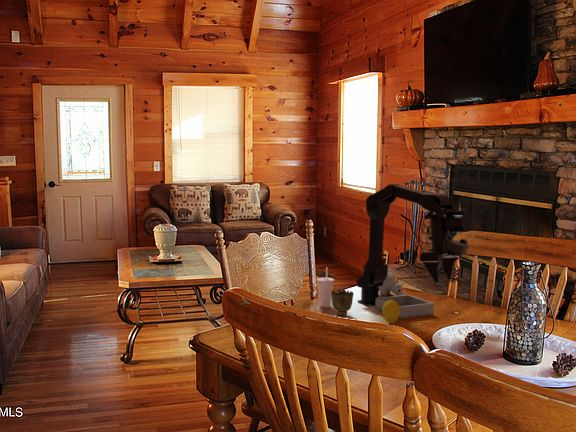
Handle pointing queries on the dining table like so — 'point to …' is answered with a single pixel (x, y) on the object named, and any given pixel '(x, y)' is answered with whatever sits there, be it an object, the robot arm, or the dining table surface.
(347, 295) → the cup
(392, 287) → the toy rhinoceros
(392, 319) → the lemon
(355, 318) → the dining table surface
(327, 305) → the smoothie
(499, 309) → the dining table surface
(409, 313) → the bin
